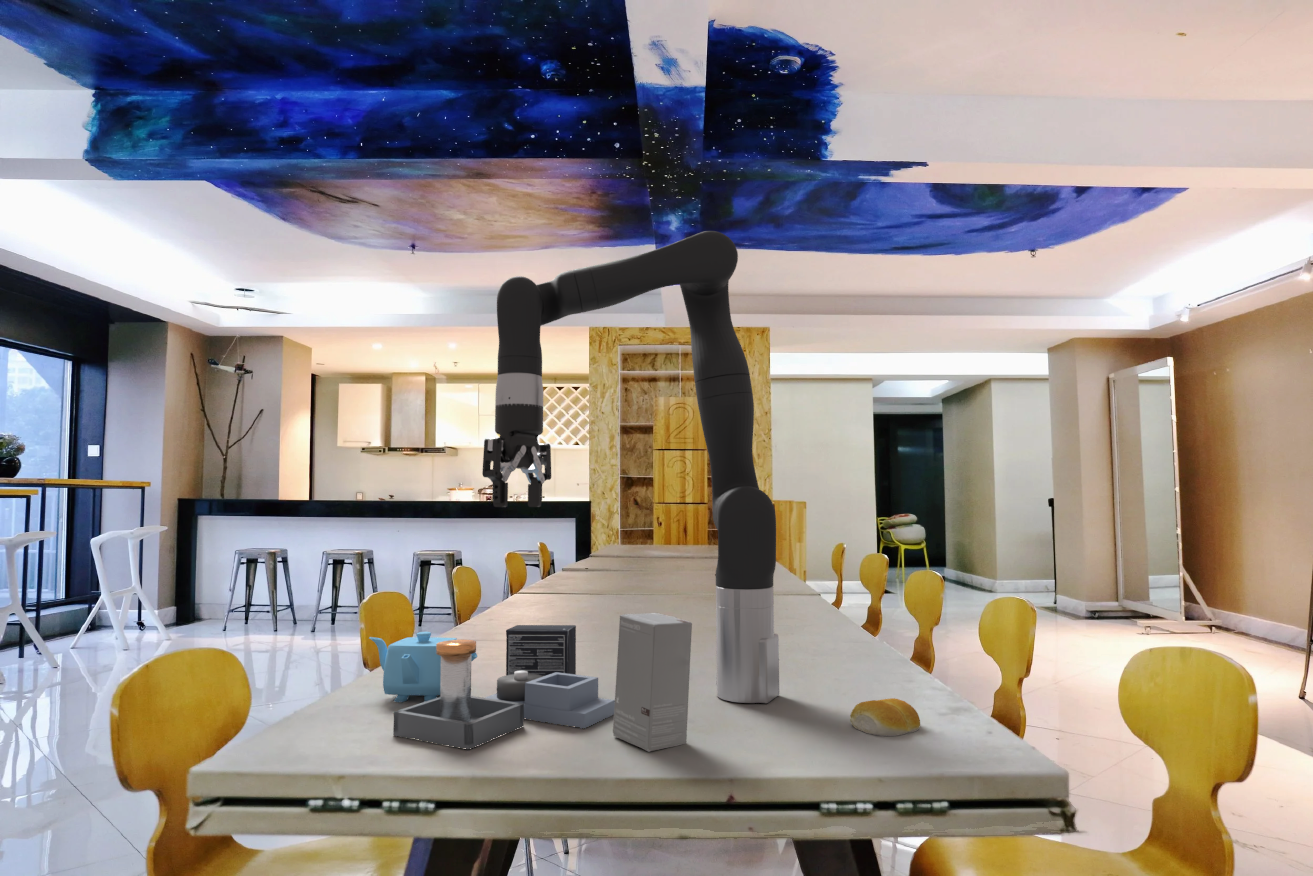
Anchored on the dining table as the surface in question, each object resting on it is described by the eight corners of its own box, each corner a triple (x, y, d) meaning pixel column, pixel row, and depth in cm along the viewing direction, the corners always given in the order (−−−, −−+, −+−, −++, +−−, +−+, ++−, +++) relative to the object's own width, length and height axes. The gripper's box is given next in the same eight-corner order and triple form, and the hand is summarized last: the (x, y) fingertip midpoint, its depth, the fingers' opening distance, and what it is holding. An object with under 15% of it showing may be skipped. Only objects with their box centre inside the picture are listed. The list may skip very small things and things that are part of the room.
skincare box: (611, 737, 97) (611, 614, 99) (655, 727, 102) (655, 610, 103) (649, 754, 91) (648, 622, 92) (694, 743, 95) (693, 617, 96)
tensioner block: (614, 714, 108) (614, 676, 108) (584, 729, 101) (584, 688, 101) (516, 699, 116) (516, 664, 117) (481, 712, 109) (482, 674, 110)
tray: (523, 727, 102) (523, 703, 102) (468, 750, 92) (469, 724, 93) (451, 714, 108) (452, 693, 108) (393, 735, 98) (393, 711, 99)
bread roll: (931, 730, 101) (930, 700, 101) (887, 742, 96) (886, 710, 96) (882, 715, 108) (881, 687, 108) (839, 726, 103) (838, 696, 103)
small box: (577, 687, 124) (577, 623, 125) (569, 697, 118) (569, 630, 119) (515, 686, 125) (516, 623, 126) (504, 696, 119) (504, 629, 120)
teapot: (488, 688, 124) (489, 626, 125) (458, 711, 110) (460, 642, 111) (384, 686, 125) (386, 625, 126) (342, 708, 112) (344, 640, 112)
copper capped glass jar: (483, 725, 101) (484, 641, 101) (456, 736, 96) (457, 648, 97) (454, 720, 103) (455, 638, 104) (426, 731, 98) (428, 645, 99)
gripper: (509, 397, 110) (508, 507, 109) (564, 408, 123) (563, 506, 121) (470, 400, 113) (468, 507, 112) (528, 411, 126) (526, 506, 125)
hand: (518, 507), depth 117 cm, fingers open, 8 cm apart
